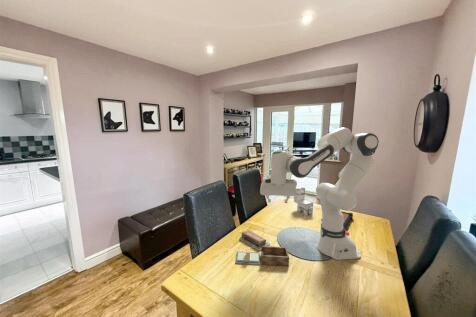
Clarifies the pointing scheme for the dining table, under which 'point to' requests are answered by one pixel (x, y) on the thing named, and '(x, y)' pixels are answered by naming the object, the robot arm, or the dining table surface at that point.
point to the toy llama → (303, 202)
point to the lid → (248, 256)
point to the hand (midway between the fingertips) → (277, 202)
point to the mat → (248, 262)
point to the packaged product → (253, 240)
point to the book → (346, 219)
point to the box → (274, 256)
